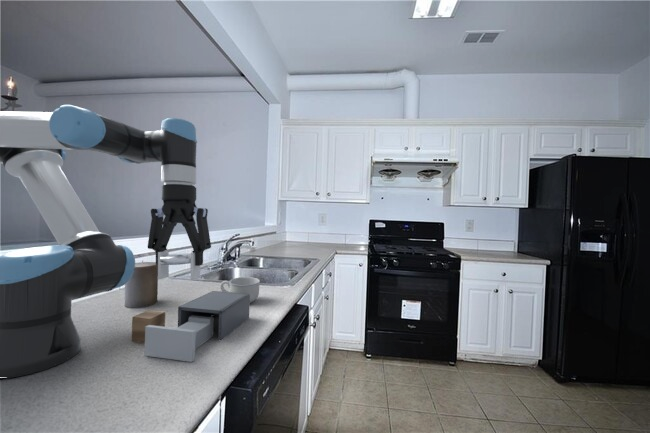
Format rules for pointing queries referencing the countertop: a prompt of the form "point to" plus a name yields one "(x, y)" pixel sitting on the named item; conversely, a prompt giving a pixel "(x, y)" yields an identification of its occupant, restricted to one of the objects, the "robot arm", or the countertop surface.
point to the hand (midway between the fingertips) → (179, 278)
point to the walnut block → (146, 323)
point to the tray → (178, 339)
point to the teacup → (243, 286)
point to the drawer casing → (218, 310)
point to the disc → (175, 259)
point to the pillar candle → (142, 285)
